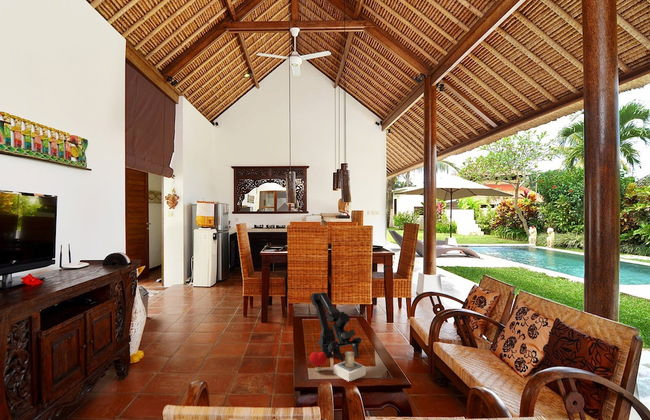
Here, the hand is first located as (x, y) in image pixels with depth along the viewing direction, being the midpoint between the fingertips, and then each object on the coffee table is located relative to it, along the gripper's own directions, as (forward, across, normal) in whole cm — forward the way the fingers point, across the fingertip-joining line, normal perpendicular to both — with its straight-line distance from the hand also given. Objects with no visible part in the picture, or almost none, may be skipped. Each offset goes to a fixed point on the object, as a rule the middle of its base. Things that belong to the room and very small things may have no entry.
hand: (350, 359), depth 176 cm
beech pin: (+5, 0, +6) cm, 8 cm away
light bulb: (-2, -14, +14) cm, 20 cm away
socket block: (+5, 0, +6) cm, 8 cm away
